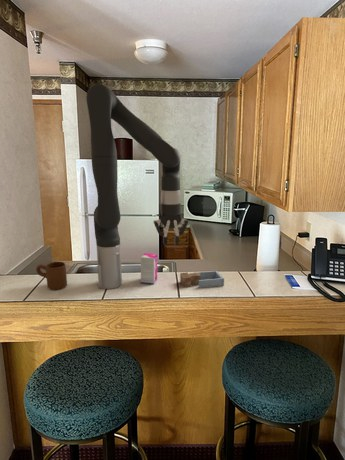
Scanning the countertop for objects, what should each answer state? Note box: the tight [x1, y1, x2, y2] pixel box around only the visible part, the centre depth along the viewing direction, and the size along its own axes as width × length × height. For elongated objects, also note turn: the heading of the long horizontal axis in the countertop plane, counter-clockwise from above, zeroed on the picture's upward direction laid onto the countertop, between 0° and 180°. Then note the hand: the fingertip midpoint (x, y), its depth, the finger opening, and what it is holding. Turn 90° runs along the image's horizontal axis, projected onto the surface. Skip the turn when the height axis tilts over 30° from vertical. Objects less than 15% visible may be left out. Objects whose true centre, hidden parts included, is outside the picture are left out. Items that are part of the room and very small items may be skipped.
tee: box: [179, 272, 202, 288], centre depth 135 cm, size 8×6×4 cm
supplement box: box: [140, 252, 158, 285], centre depth 137 cm, size 6×6×12 cm
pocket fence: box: [193, 270, 225, 289], centre depth 137 cm, size 10×9×3 cm
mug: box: [35, 261, 68, 291], centre depth 132 cm, size 12×8×9 cm, turn 83°
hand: (170, 245), depth 130 cm, fingers open, 3 cm apart
